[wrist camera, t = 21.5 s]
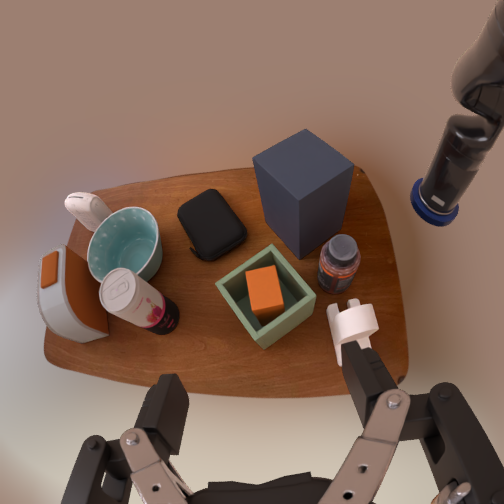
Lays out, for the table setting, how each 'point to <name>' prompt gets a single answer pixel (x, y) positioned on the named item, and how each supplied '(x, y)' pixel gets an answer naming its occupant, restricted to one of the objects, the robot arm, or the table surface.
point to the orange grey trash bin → (70, 296)
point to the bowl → (126, 244)
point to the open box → (292, 288)
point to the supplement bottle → (338, 264)
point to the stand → (303, 190)
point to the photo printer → (88, 209)
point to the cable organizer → (351, 325)
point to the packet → (265, 294)
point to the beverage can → (138, 302)
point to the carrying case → (211, 225)
